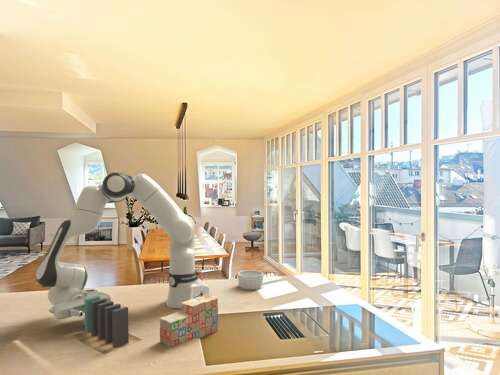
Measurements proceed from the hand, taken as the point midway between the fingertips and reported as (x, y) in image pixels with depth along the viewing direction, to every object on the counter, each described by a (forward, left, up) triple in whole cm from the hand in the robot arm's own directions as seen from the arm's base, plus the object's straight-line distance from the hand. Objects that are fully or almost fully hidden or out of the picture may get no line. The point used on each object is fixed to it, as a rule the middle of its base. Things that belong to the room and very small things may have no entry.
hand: (93, 310), depth 139 cm
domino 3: (0, +8, -8) cm, 11 cm away
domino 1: (0, -1, -8) cm, 8 cm away
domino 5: (0, +17, -8) cm, 19 cm away
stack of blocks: (-20, +29, -9) cm, 36 cm away
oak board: (0, +8, -9) cm, 12 cm away
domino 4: (0, +13, -8) cm, 15 cm away
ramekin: (-81, +6, -9) cm, 82 cm away
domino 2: (0, +4, -8) cm, 8 cm away
